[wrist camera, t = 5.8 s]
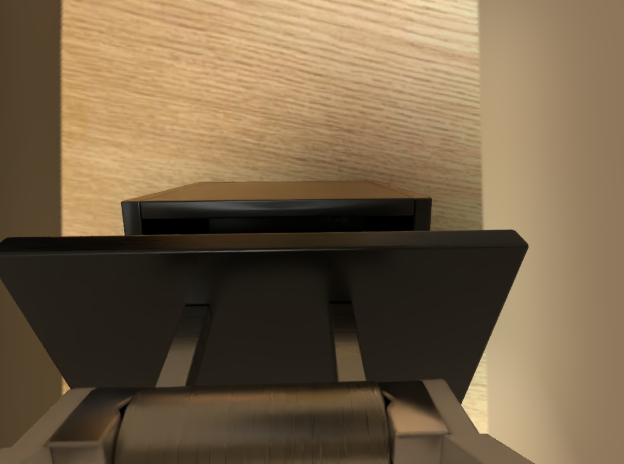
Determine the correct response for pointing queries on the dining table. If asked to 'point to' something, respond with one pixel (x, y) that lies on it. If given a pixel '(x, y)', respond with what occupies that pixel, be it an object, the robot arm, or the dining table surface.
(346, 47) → the dining table surface
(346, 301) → the bin lid
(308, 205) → the trash can
